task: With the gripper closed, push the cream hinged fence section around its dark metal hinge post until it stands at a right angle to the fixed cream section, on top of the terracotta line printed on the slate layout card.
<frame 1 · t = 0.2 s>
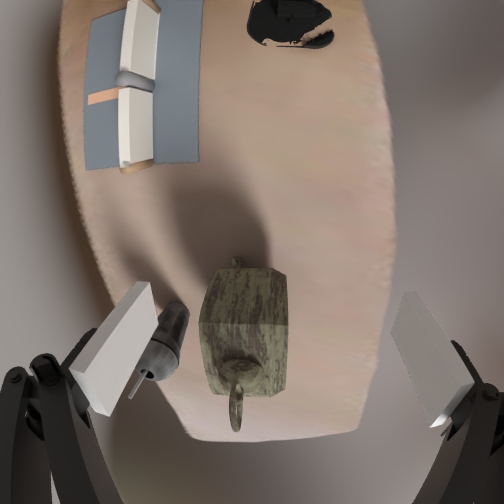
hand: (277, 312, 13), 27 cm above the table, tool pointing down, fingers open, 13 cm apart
folding fence section: (136, 130, 32), point 4 cm above the table, hinge at 0.0°
beverage cup: (178, 311, 48), on the table
black jagged rounded shell: (289, 21, 28), on the table
fixed fence section: (152, 45, 30), resting on layout card
tabletop clock: (256, 288, 45), on the table
layout card: (136, 77, 32), on the table
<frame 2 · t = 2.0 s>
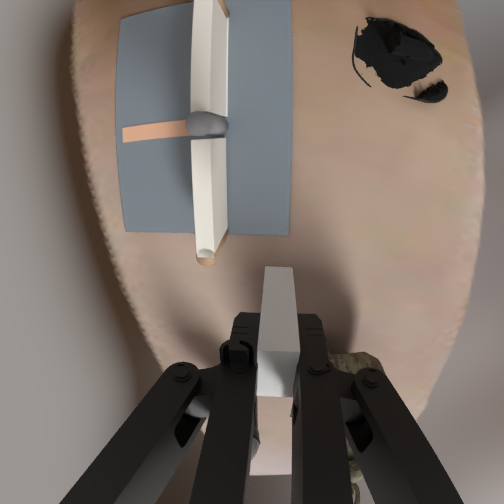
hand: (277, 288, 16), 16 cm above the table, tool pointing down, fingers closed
folding fence section: (212, 197, 26), point 4 cm above the table, hinge at 0.0°
black jagged rounded shell: (398, 60, 22), on the table
fixed fence section: (220, 65, 24), resting on layout card
tabletop clock: (333, 360, 39), on the table
layout card: (196, 109, 26), on the table
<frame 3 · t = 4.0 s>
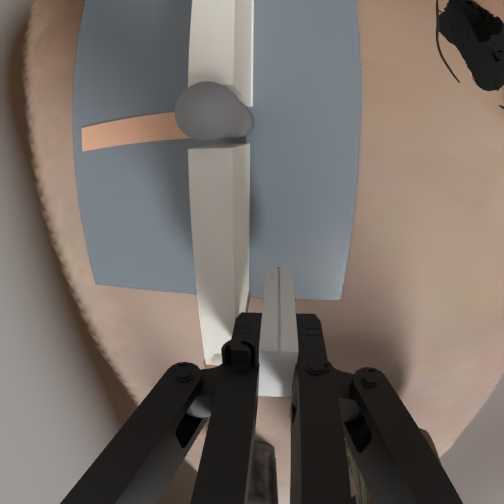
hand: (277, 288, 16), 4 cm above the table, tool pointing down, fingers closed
folding fence section: (228, 253, 15), point 4 cm above the table, hinge at -0.1°, touching gripper
beverage cup: (258, 447, 31), on the table
black jagged rounded shell: (483, 53, 11), on the table
fixed fence section: (239, 24, 13), resting on layout card
tabletop clock: (369, 424, 28), on the table
layout card: (198, 94, 15), on the table
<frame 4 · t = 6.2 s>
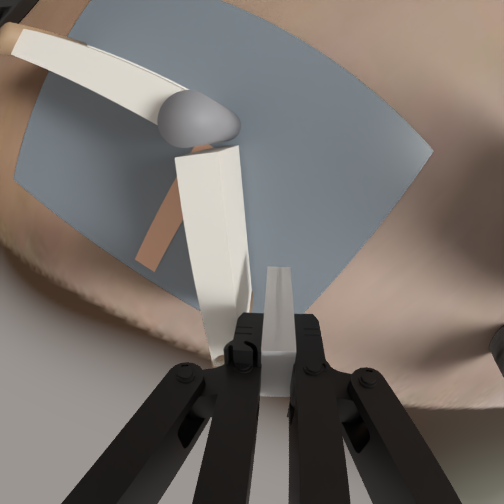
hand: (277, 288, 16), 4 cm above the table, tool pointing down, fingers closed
folding fence section: (226, 255, 15), point 4 cm above the table, hinge at -52.0°, touching gripper
beverage cup: (500, 336, 22), on the table
fixed fence section: (140, 79, 15), resting on layout card
layout card: (179, 143, 16), on the table
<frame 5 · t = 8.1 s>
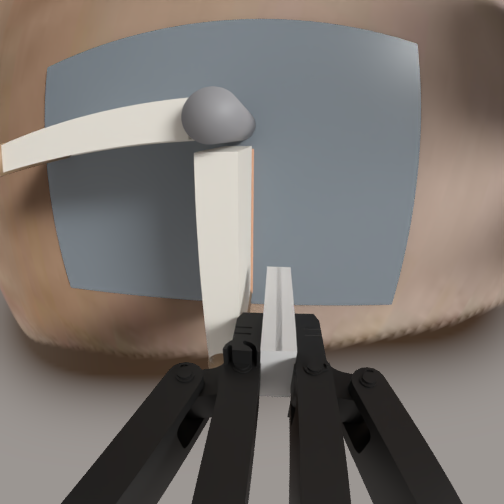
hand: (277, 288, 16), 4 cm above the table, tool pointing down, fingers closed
folding fence section: (231, 255, 15), point 4 cm above the table, hinge at -90.2°, touching gripper
fixed fence section: (137, 132, 16), resting on layout card
layout card: (208, 164, 17), on the table
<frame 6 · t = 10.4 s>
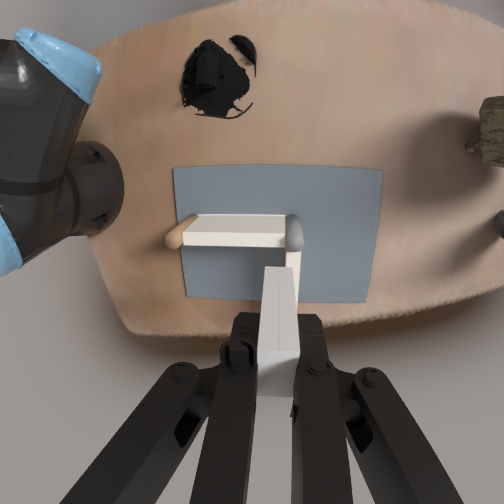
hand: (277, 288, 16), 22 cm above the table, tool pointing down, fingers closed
folding fence section: (290, 281, 36), point 4 cm above the table, hinge at -90.5°
beverage cup: (501, 222, 32), on the table
black jagged rounded shell: (220, 78, 31), on the table
fixed fence section: (240, 219, 38), resting on layout card
tabletop clock: (488, 135, 28), on the table
layout card: (277, 237, 38), on the table
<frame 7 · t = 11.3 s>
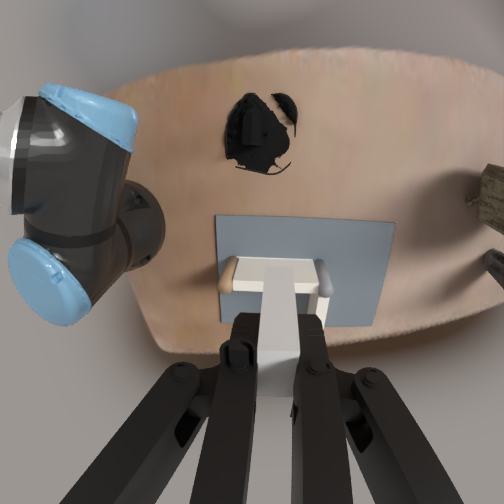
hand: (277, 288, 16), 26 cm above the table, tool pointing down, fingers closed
folding fence section: (316, 314, 42), point 4 cm above the table, hinge at -90.5°
beverage cup: (489, 258, 40), on the table
black jagged rounded shell: (261, 133, 37), on the table
fixed fence section: (274, 261, 44), resting on layout card
tabletop clock: (486, 187, 35), on the table
layout card: (304, 276, 45), on the table
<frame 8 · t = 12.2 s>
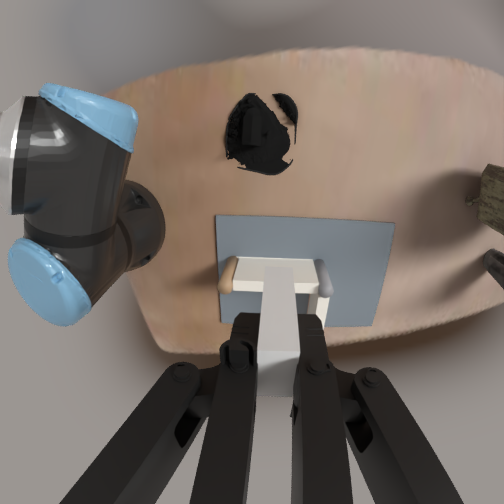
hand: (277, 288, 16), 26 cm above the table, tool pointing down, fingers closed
folding fence section: (316, 314, 42), point 4 cm above the table, hinge at -90.5°
beverage cup: (489, 258, 40), on the table
black jagged rounded shell: (261, 133, 37), on the table
fixed fence section: (274, 262, 44), resting on layout card
tabletop clock: (486, 187, 35), on the table
layout card: (304, 276, 45), on the table
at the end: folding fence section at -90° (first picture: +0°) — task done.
